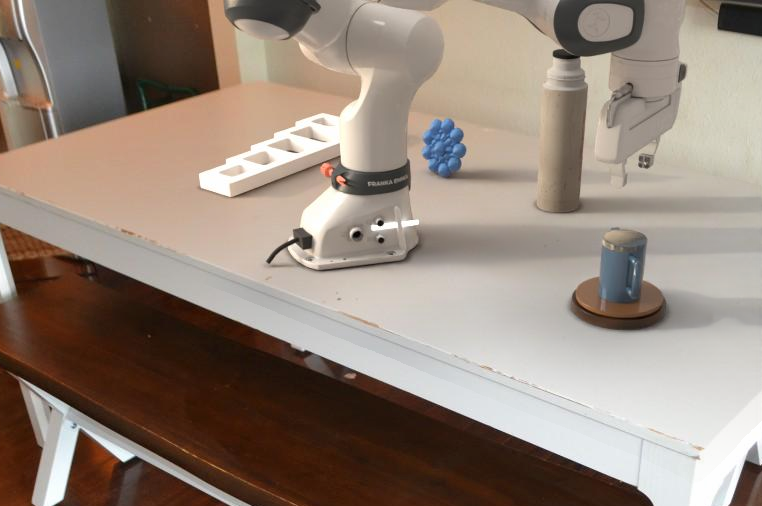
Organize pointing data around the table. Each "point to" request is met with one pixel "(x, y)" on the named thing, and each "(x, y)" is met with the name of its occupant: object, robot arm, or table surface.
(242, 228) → the table surface
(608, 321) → the turntable base
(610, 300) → the blue mug on coaster
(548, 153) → the thermos bottle
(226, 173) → the holder
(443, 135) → the grapes
